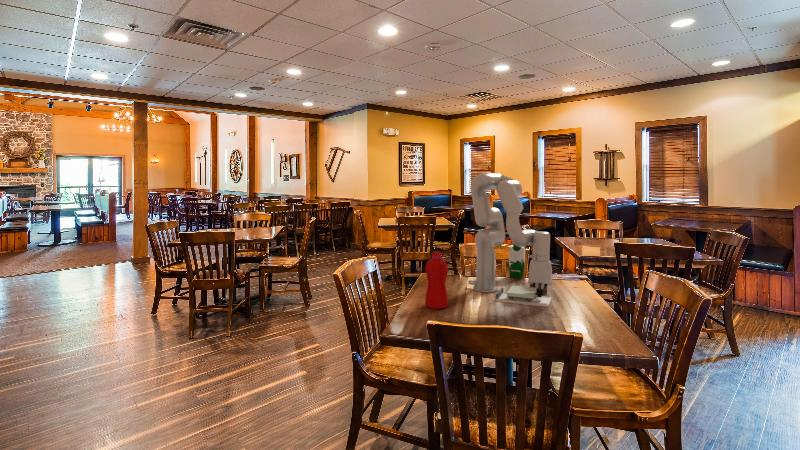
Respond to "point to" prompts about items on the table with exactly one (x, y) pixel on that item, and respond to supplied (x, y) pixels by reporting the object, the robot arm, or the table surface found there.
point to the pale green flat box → (521, 292)
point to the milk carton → (516, 261)
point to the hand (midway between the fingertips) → (539, 296)
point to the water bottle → (436, 282)
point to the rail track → (523, 299)
